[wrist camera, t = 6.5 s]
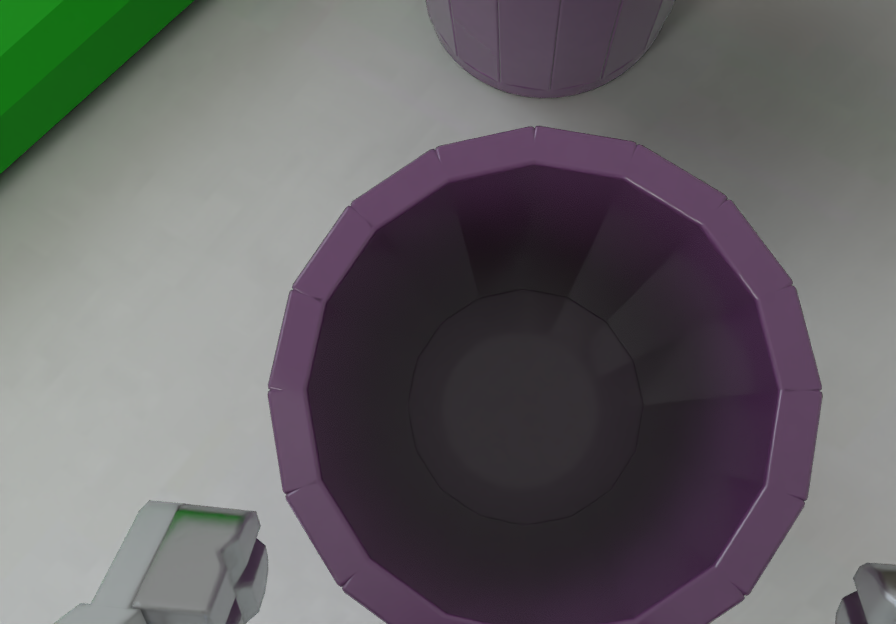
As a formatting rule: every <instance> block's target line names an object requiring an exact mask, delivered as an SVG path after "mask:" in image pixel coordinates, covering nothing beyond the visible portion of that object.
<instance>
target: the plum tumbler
mask: <svg viewBox="0 0 896 624" xmlns="http://www.w3.org/2000/svg"><path fill="white" fill-rule="evenodd" d="M792 284H793V282H792V279H791V278H790V277H789V276H788V274H787V273H786V272H785V270H784V269H783V268H782V266H781V265H780V264H779V262H778V261H777V260H776V258H775V257H774V256H773V254H772V253H771V252H770V250H769V249H768V248H767V247H766V245H765V244H764V243H763V241H762V240H761V239H760V237H759V236H758V235H757V233H756V232H755V231H754V229H753V228H752V227H751V225H750V224H749V223H748V221H747V220H746V219H745V217H744V216H743V215H742V214H741V212H740V211H739V210H738V208H737V207H736V206H735V204H734V203H733V202H732V201H731V200H727V197H726V195H725V194H723V193H721V192H720V191H718V190H716V189H715V188H713V187H711V186H710V185H708V184H706V183H705V182H703V181H701V180H700V179H698V178H696V177H695V176H693V175H691V174H690V173H688V172H686V171H685V170H683V169H681V168H680V167H678V166H676V165H675V164H673V163H671V162H670V161H668V160H666V159H665V158H663V157H661V156H660V155H658V154H656V153H655V152H653V151H651V150H650V149H648V148H646V147H645V146H643V145H640V144H638V145H637V144H636V143H635V142H633V141H627V140H621V139H615V138H609V137H603V136H597V135H591V134H585V133H579V132H573V131H567V130H561V129H555V128H549V127H542V126H536V127H535V128H534V127H525V128H520V129H516V130H511V131H506V132H501V133H497V134H492V135H487V136H483V137H478V138H473V139H469V140H464V141H459V142H455V143H450V144H445V145H441V146H438V147H436V148H435V150H434V149H431V150H429V151H427V152H426V153H424V154H423V155H421V156H420V157H418V158H417V159H415V160H414V161H412V162H411V163H409V164H408V165H406V166H405V167H403V168H402V169H400V170H399V171H397V172H396V173H394V174H393V175H391V176H390V177H388V178H387V179H385V180H384V181H382V182H381V183H379V184H378V185H376V186H375V187H373V188H372V189H370V190H369V191H367V192H366V193H364V194H362V195H361V196H359V197H358V198H356V199H355V200H353V201H352V203H351V206H348V207H346V208H345V210H344V211H343V213H342V214H341V215H340V217H339V218H338V220H337V221H336V223H335V224H334V226H333V227H332V228H331V230H330V231H329V233H328V234H327V236H326V237H325V239H324V240H323V241H322V243H321V244H320V246H319V247H318V249H317V250H316V252H315V253H314V254H313V256H312V257H311V259H310V260H309V262H308V263H307V265H306V266H305V267H304V269H303V270H302V272H301V273H300V275H299V276H298V278H297V279H296V280H295V282H294V283H293V286H292V288H293V290H291V291H290V292H289V295H288V300H287V304H286V308H285V313H284V317H283V321H282V326H281V330H280V334H279V339H278V343H277V347H276V352H275V356H274V361H273V365H272V369H271V374H270V378H269V382H268V389H269V391H268V401H269V408H270V414H271V420H272V427H273V433H274V439H275V446H276V452H277V458H278V465H279V471H280V477H281V484H282V490H283V492H284V493H285V494H286V501H287V502H288V504H289V506H290V507H291V509H292V511H293V512H294V514H295V515H296V517H297V519H298V520H299V522H300V524H301V525H302V527H303V529H304V530H305V532H306V534H307V535H308V537H309V539H310V540H311V542H312V544H313V545H314V547H315V549H316V550H317V552H318V554H319V555H320V557H321V559H322V560H323V562H324V564H325V565H326V567H327V568H328V570H329V572H330V573H331V575H332V577H333V578H334V580H335V582H336V583H337V585H339V586H340V587H342V589H343V591H344V593H346V594H347V595H349V596H350V597H351V598H353V599H354V600H355V601H357V602H358V603H359V604H361V605H362V606H363V607H365V608H366V609H367V610H369V611H370V612H372V613H373V614H374V615H376V616H377V617H378V618H380V619H381V620H382V621H384V622H385V623H386V624H710V623H711V622H712V621H714V620H715V619H717V618H718V617H720V616H721V615H723V614H724V613H726V612H727V611H729V610H730V609H732V608H733V607H735V606H736V605H738V604H739V603H741V602H742V601H743V600H744V598H745V597H744V595H745V596H747V595H749V594H750V593H751V591H752V589H753V588H754V586H755V585H756V583H757V581H758V580H759V578H760V577H761V575H762V573H763V572H764V570H765V569H766V567H767V565H768V564H769V562H770V561H771V559H772V557H773V556H774V554H775V553H776V551H777V549H778V548H779V546H780V545H781V543H782V541H783V540H784V538H785V537H786V535H787V533H788V532H789V530H790V529H791V527H792V525H793V524H794V522H795V521H796V519H797V517H798V516H799V514H800V513H801V511H802V509H803V508H804V505H805V502H804V501H805V500H807V498H808V493H809V486H810V479H811V472H812V465H813V459H814V452H815V445H816V438H817V431H818V424H819V418H820V411H821V404H822V397H823V395H822V392H820V390H821V389H822V385H821V381H820V377H819V373H818V369H817V366H816V362H815V358H814V354H813V350H812V347H811V343H810V339H809V335H808V331H807V328H806V324H805V320H804V316H803V312H802V309H801V305H800V301H799V297H798V293H797V290H796V288H795V286H792Z"/></svg>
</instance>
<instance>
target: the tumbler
mask: <svg viewBox="0 0 896 624" xmlns="http://www.w3.org/2000/svg"><path fill="white" fill-rule="evenodd" d="M674 2H675V0H426V5H427V10H428V15H429V17H430V20H431V23H432V25H433V27H434V30H435V32H436V34H437V36H438V38H439V39H440V41H441V43H442V44H443V46H444V48H445V49H446V50H447V51H448V53H449V54H450V55H451V56H452V58H453V59H454V60H455V61H456V62H457V63H458V64H459V65H460V66H462V67H463V68H464V69H465V70H466V71H467V72H469V73H470V74H471V75H473V76H474V77H476V78H477V79H479V80H480V81H482V82H484V83H486V84H488V85H490V86H492V87H494V88H497V89H500V90H502V91H505V92H508V93H512V94H516V95H521V96H526V97H536V98H558V97H564V96H571V95H576V94H579V93H583V92H586V91H590V90H592V89H595V88H597V87H599V86H602V85H604V84H606V83H608V82H610V81H611V80H613V79H615V78H617V77H618V76H620V75H621V74H622V73H624V72H625V71H626V70H628V69H629V68H630V67H632V66H633V65H634V64H635V63H636V62H637V61H638V60H639V59H640V58H641V57H642V56H643V55H644V54H645V53H646V51H647V50H648V49H649V47H650V46H651V45H652V44H653V42H654V41H655V39H656V37H657V36H658V34H659V32H660V30H661V29H662V26H663V24H664V21H665V20H666V18H667V17H668V15H669V14H670V12H671V10H672V7H673V5H674Z"/></svg>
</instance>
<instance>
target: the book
mask: <svg viewBox="0 0 896 624" xmlns="http://www.w3.org/2000/svg"><path fill="white" fill-rule="evenodd" d="M193 1H194V0H0V174H1V173H2V172H3V171H4V170H5V169H7V168H8V167H9V166H10V165H11V164H12V163H13V162H14V161H15V160H17V159H18V158H19V157H20V156H21V155H22V154H23V153H24V152H26V151H27V150H28V149H29V148H30V147H31V146H32V145H33V144H34V143H36V142H37V141H38V140H39V139H40V138H41V137H42V136H43V135H45V134H46V133H47V132H48V131H49V130H50V129H51V128H52V127H53V126H55V125H56V124H57V123H58V122H59V121H60V120H61V119H62V118H64V117H65V116H66V115H67V114H68V113H69V112H70V111H71V110H72V109H74V108H75V107H76V106H77V105H78V104H79V103H80V102H81V101H83V100H84V99H85V98H86V97H87V96H88V95H89V94H90V93H91V92H93V91H94V90H95V89H96V88H97V87H98V86H99V85H100V84H101V83H103V82H104V81H105V80H106V79H107V78H108V77H109V76H110V75H112V74H113V73H114V72H115V71H116V70H117V69H118V68H119V67H120V66H122V65H123V64H124V63H125V62H126V61H127V60H128V59H129V58H131V57H132V56H133V55H134V54H135V53H136V52H137V51H138V50H139V49H141V48H142V47H143V46H144V45H145V44H146V43H147V42H148V41H150V40H151V39H152V38H153V37H154V36H155V35H156V34H157V33H158V32H160V31H161V30H162V29H163V28H164V27H165V26H166V25H167V24H169V23H170V22H171V21H172V20H173V19H174V18H175V17H176V16H177V15H179V14H180V13H181V12H182V11H183V10H184V9H185V8H186V7H188V6H189V5H190V4H191V3H192V2H193Z"/></svg>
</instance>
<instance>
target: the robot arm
mask: <svg viewBox="0 0 896 624" xmlns="http://www.w3.org/2000/svg"><path fill="white" fill-rule="evenodd" d="M259 529H260V522H259V519H258V516H257V512H256V511H248V510H239V509H229V508H220V507H210V506H200V505H191V504H184V503H172V502H161V501H150V500H149V501H148V502H147V503H146V505H145V506H144V507H143V508H142V509H141V510H140V511H139V512H138V514H137V516H136V518H135V520H134V522H133V524H132V526H131V528H130V529H129V531H128V533H127V535H126V537H125V539H124V541H123V543H122V545H121V547H120V549H119V551H118V552H117V554H116V556H115V558H114V560H113V562H112V564H111V566H110V568H109V570H108V572H107V574H106V575H105V577H104V579H103V581H102V583H101V585H100V587H99V589H98V591H97V593H96V595H95V597H94V598H93V600H92V602H91V604H84V603H80V604H79V605H77V606H76V607H75V608H73V609H72V610H71V611H69V612H68V613H67V614H65V615H64V616H63V617H62V618H60V619H59V620H58V621H56V622H55V623H54V624H246V623H247V622H248V621H249V620H250V619H251V618H252V617H254V616H255V615H256V614H257V613H258V612H259V610H260V607H261V604H262V600H263V597H264V594H265V589H266V583H267V576H268V555H267V550H266V546H265V545H264V544H263V543H262V542H260V541H259V540H258V539H257V535H258V532H259ZM853 579H854V582H855V585H856V589H857V591H855V592H853V593H851V594H849V595H847V596H845V597H844V598H843V599H842V601H841V603H840V605H839V607H838V610H837V612H836V620H835V624H896V565H892V564H878V563H866V564H864V565H862V566H860V567H859V568H858V570H857V572H856V574H855V576H854V577H853Z"/></svg>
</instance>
